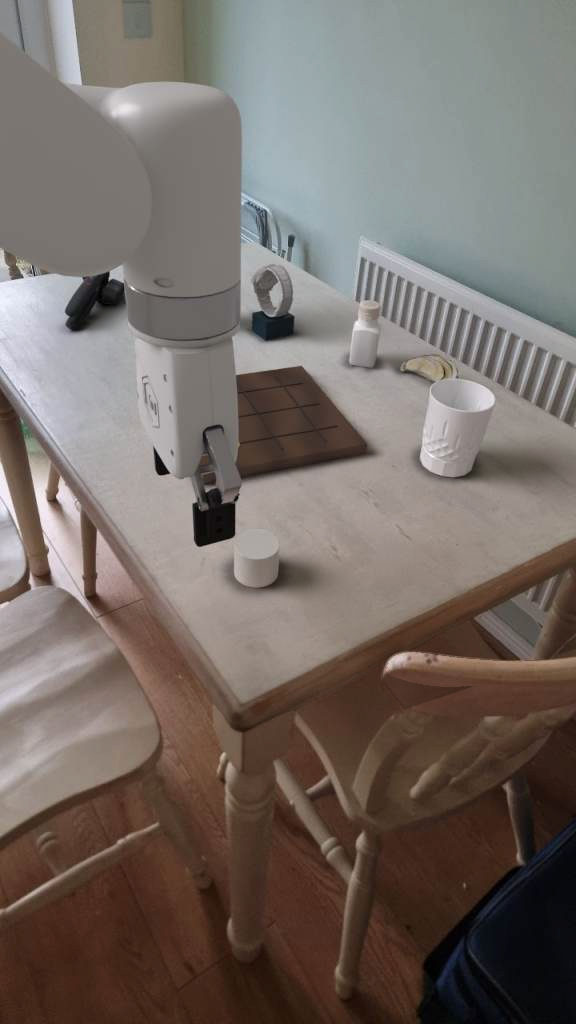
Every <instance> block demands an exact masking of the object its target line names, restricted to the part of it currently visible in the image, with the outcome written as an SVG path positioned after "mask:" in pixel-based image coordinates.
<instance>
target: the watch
mask: <svg viewBox="0 0 576 1024" xmlns="http://www.w3.org/2000/svg"><path fill="white" fill-rule="evenodd" d="M250 282H251V284H252V285H253V292H254V294H255V295H256V299H257V302H258V305H259V307H260V309H261V310H259V311H254V312H252V313H251V331H252V332H253V333H254V334H256V335H257V336H259V338H261V339H262V340H264V341H266V342H267V341H270V340H274V339H279V338H282V337H286V336H291V335H294V331H295V318H296V317H295V315H293V314H292V313H291V312H290V309H291V307H292V304H293V301H294V289H293V283H292V282H293V281H292V279H291V275H290V274H289V272H288V271H287V269H286V268H285V267H284V266H282V265H281V264H278V265H277V264H275V263H271V264H267V265H264V266H262V267H260V268H259V269H257V271H255V273H254V274H253V275H252V276H251V278H250ZM277 284H279V286H280V287H279V288H280V291H281V293H280V294H281V295H280V298H279V300H278V302H277V305H276V307H275V306H274V304H273V301H272V299H271V295H270V292H272V291H273V289H274V286H275V285H277Z"/></svg>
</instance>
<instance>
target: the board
mask: <svg viewBox="0 0 576 1024" xmlns="http://www.w3.org/2000/svg"><path fill="white" fill-rule="evenodd" d="M236 383H237V399H238V429H239V433H238V455H237V460H236V462H235V464H236V467H237V470H238V472H239V475H240V477H241V478H244V477H250V476H255V475H260V474H261V475H262V474H265V473H270V472H276V471H281V470H286V469H292V468H295V467H301V466H307V465H312V464H318V463H323V462H327V461H334V460H339V459H344V458H349V457H354V456H359V455H364V454H367V450H368V442H367V441H366V440H365V439H364V437H362V435H361V434H360V433H359V431H358V430H357V429H356V428H355V427H354V426H353V425H352V423H351V422H350V421H349V420H348V418H347V417H346V416H345V415H344V413H342V411H341V410H340V409H339V408H338V407H337V406H336V405H335V404H334V402H333V401H332V399H331V398H330V397H329V396H328V395H327V394H326V393H325V391H324V390H323V389H322V388H321V387H320V386H319V384H318V383H317V382H316V381H315V380H314V379H313V377H312V376H311V375H310V374H309V373H308V371H307V370H306V369H305V368H304V366H303V365H296V366H290V367H283V368H275V369H269V370H268V369H267V370H261V371H255V372H254V371H253V372H248V373H240V374H236ZM209 463H211V462H210V459H209V456H208V455H205V456H202V457H201V460H200V462H199V465H198V466H201V465H205V464H209ZM201 475H202V479H203V483H204V485H208V484H213V483H214V484H215V483H216V475H215V472H210V473H206V474H201Z"/></svg>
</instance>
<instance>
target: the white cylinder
mask: <svg viewBox="0 0 576 1024" xmlns="http://www.w3.org/2000/svg"><path fill="white" fill-rule="evenodd" d="M233 543H234V545H233V574H234V577H235V579H236V580H237V582H238V583H240V584H241V585H243V586H246V587H248V588H255V589H257V588H264V587H268V586H269V585H272V584H273V583H274V582H275V581H276V580H277V578H278V576H279V567H280V553H281V552H280V551H281V550H280V549H281V543H280V539H279V538H278V536H276V534H275V533H273V532H272V531H270V530H268V529H263V528H250V529H246V530H244V531H241V532H240V533H238V534H237V536H236V537H235V539H234V542H233Z"/></svg>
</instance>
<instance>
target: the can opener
mask: <svg viewBox="0 0 576 1024" xmlns="http://www.w3.org/2000/svg"><path fill="white" fill-rule="evenodd" d="M110 276H111V271H109V272H106V273H103V274H99V275H96V276H88V277H81V279H82V282H81V284H80V285H79V286H78V288H77V289H76V291H74V293H73V294H72V296H71V298H70V299H69V301H68V303H67V305H66V307H65V308H64V314H65V315H66V316H68V318H67V320H66V322H65V324H64V325H65V327H66V328H68V329H69V330H77V329H79V328H80V327H81V326H82V325H83V323H84V322H85V321H86V320H87V318H88V317H89V315H90V313H92V311H93V308H94V307H95V306H96V304H97V303H98V301H100V300H101V303H102V304H105V305H107V304H108V305H117V304H118V303H119V302H120V301H121V300H122V298H123V297H124V295H125V289H124V282H123V281H120V280H118V279H115V278H110Z"/></svg>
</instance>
